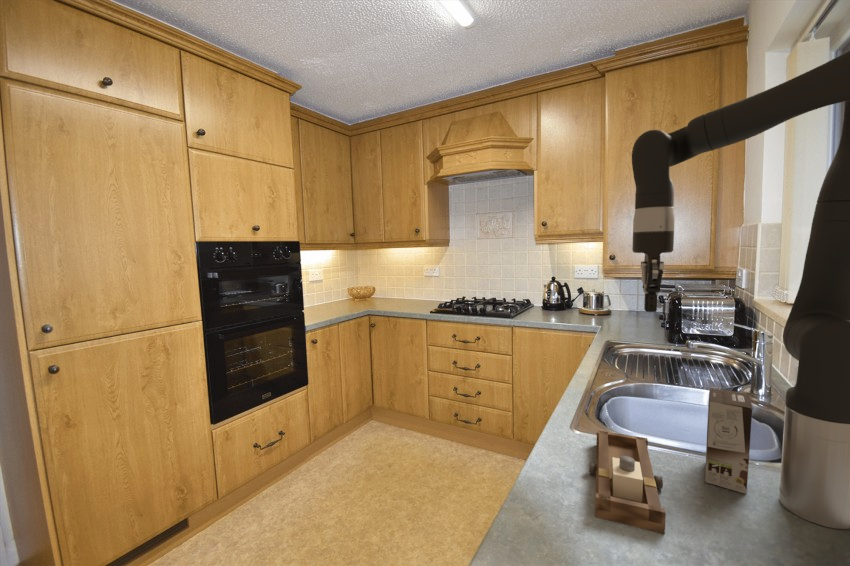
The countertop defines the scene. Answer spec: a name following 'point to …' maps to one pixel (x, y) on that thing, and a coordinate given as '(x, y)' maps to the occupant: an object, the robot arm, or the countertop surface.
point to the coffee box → (728, 439)
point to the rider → (627, 478)
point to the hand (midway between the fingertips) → (650, 311)
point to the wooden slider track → (622, 509)
